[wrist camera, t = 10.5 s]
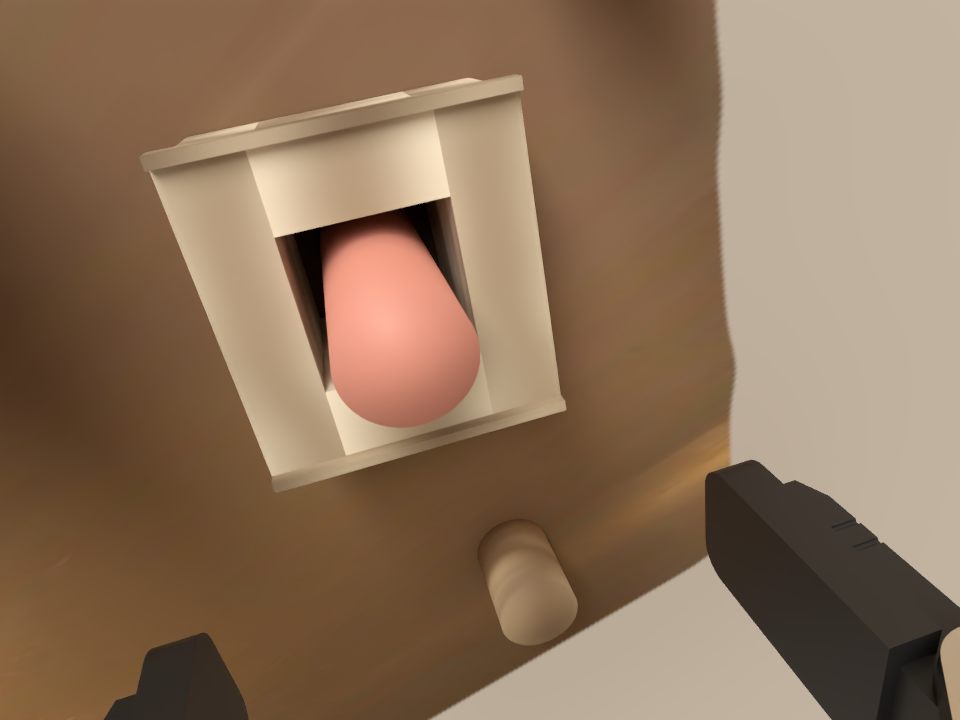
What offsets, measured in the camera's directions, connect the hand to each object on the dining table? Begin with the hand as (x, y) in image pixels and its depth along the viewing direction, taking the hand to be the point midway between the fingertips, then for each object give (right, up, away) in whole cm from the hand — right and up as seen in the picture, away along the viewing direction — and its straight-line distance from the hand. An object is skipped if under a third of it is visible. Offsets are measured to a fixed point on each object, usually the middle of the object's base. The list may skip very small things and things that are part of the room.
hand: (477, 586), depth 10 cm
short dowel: (+2, -7, +27) cm, 28 cm away
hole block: (-5, +8, +18) cm, 20 cm away
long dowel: (-5, +9, +18) cm, 20 cm away
